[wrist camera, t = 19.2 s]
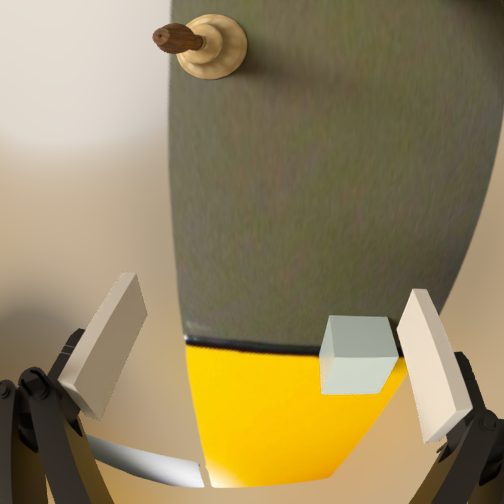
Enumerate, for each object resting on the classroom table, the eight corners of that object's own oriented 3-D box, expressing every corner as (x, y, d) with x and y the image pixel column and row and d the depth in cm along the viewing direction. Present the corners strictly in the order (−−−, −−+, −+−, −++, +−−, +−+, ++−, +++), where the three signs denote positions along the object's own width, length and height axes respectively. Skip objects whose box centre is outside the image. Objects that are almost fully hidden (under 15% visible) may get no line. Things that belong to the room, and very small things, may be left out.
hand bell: (257, 66, 31) (238, 62, 18) (189, 89, 33) (129, 106, 20) (234, 5, 27) (199, -37, 14) (167, 30, 29) (96, 14, 16)
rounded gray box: (329, 315, 50) (334, 357, 42) (387, 316, 49) (398, 356, 41) (319, 354, 55) (321, 394, 48) (371, 355, 54) (378, 393, 47)
